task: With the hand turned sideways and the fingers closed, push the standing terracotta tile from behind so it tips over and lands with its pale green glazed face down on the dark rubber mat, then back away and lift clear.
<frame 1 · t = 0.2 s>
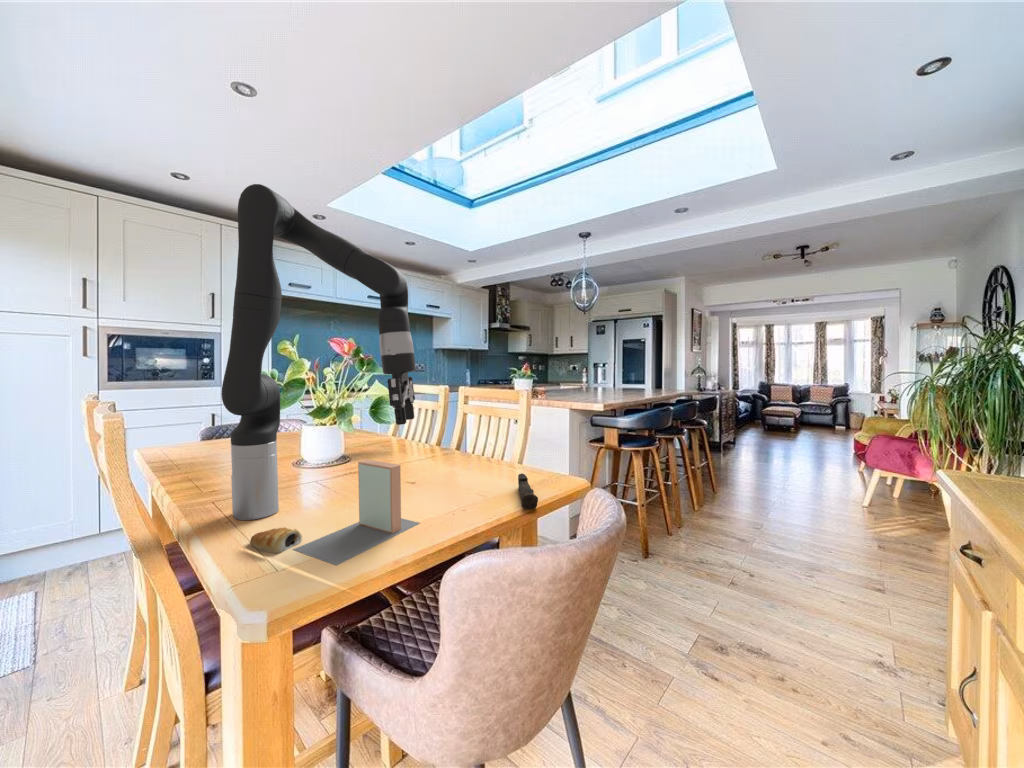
hand: (405, 421, 97), 22 cm above the table, tool pointing down, fingers open, 8 cm apart
tile: (379, 526, 90), resting on mat
pastry: (276, 548, 82), on the table
hand tool: (523, 498, 112), on the table
mat: (361, 537, 86), on the table
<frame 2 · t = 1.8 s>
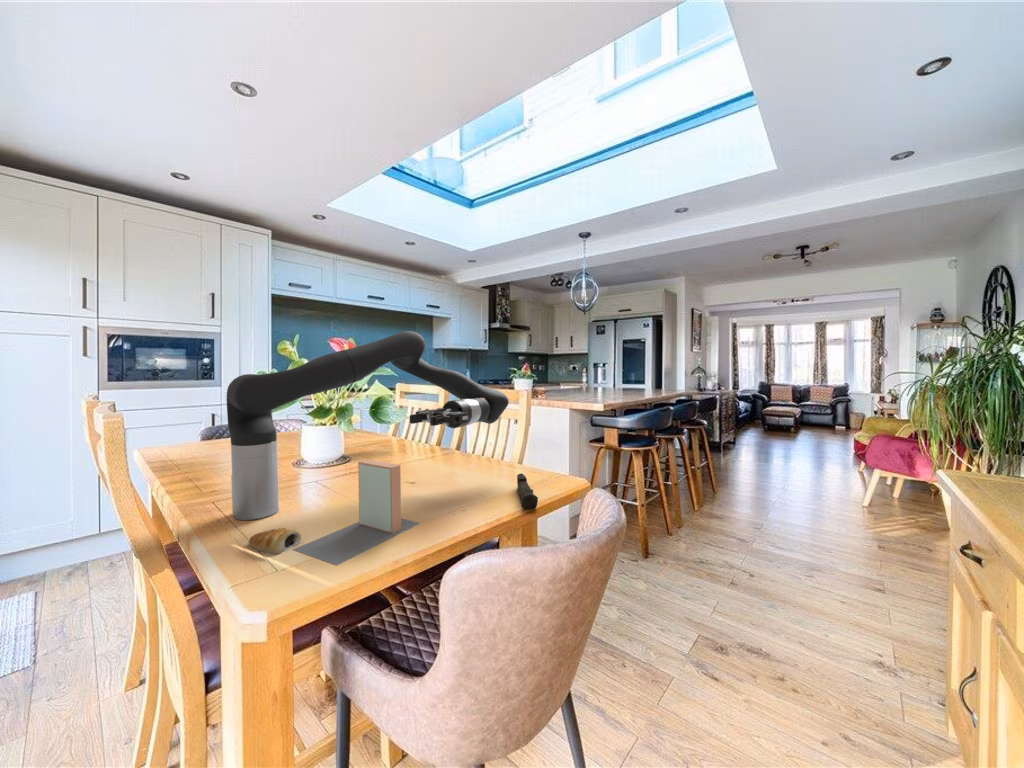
hand: (421, 420, 101), 22 cm above the table, tool horizontal, fingers open, 6 cm apart
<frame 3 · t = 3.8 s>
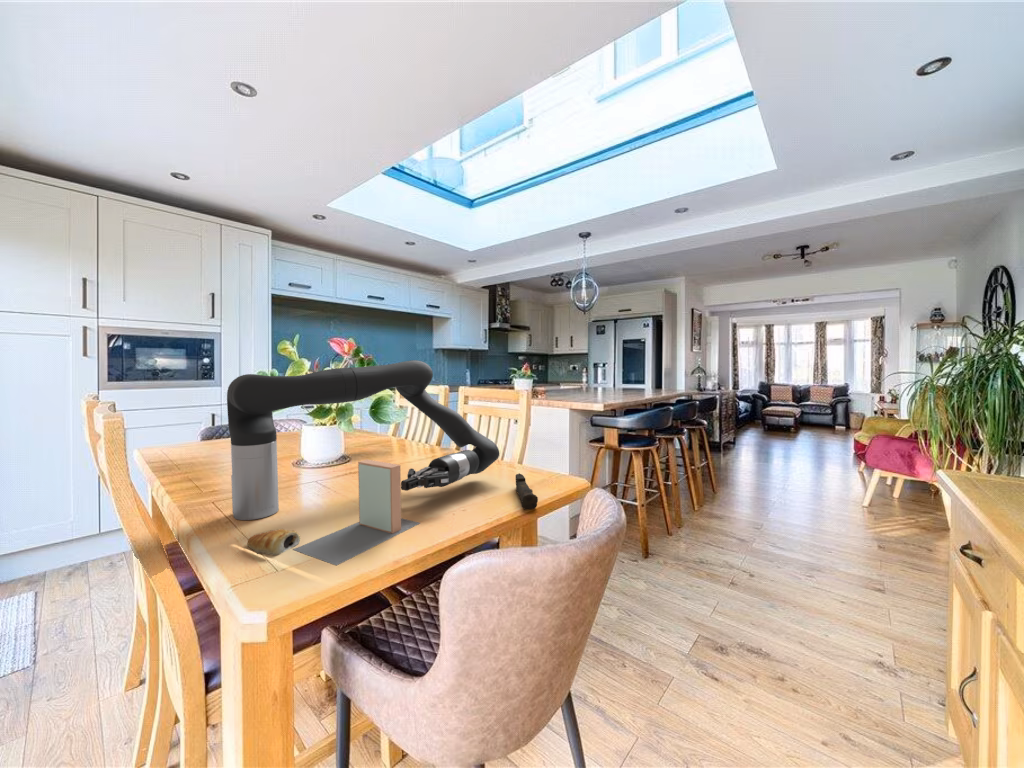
hand: (403, 486, 96), 7 cm above the table, tool horizontal, fingers closed
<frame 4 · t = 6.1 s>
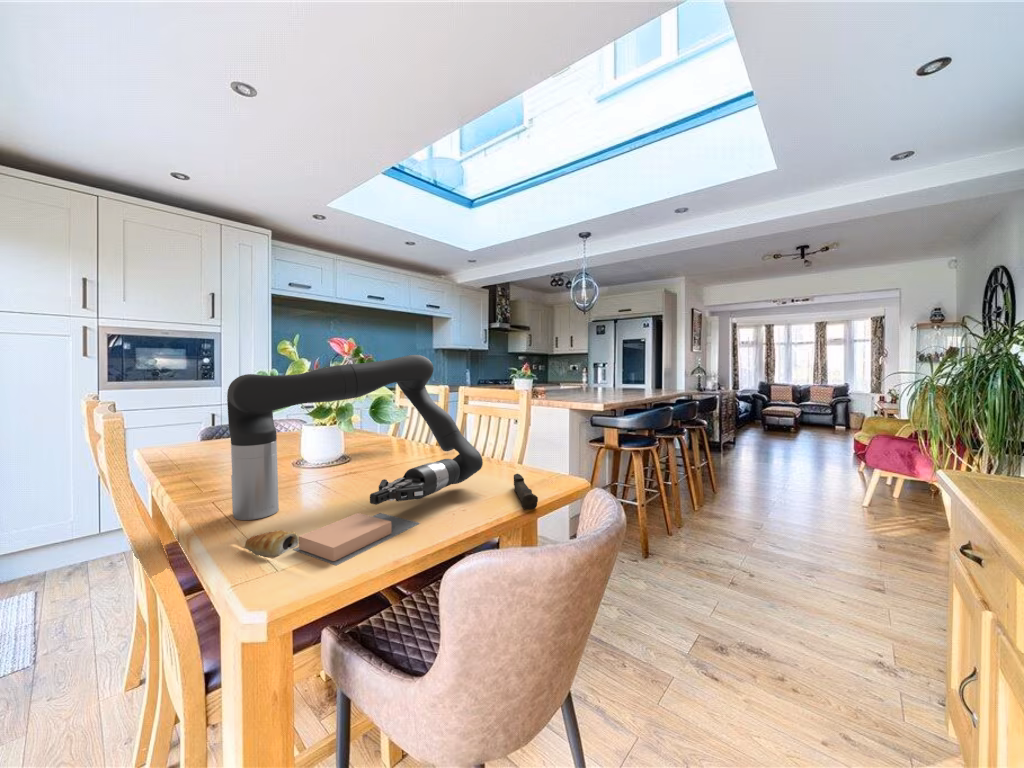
hand: (372, 499, 88), 7 cm above the table, tool horizontal, fingers closed
tile: (374, 522, 89), point 2 cm above the table, tilted 90°, touching mat
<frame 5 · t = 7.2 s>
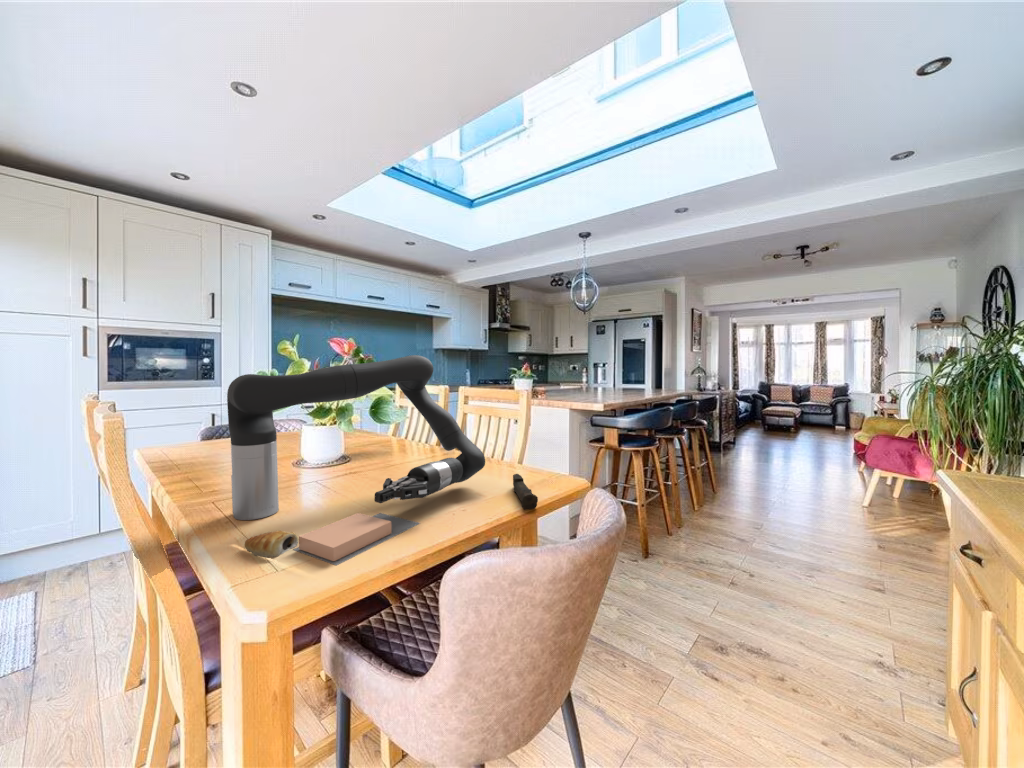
hand: (377, 498, 89), 7 cm above the table, tool horizontal, fingers closed
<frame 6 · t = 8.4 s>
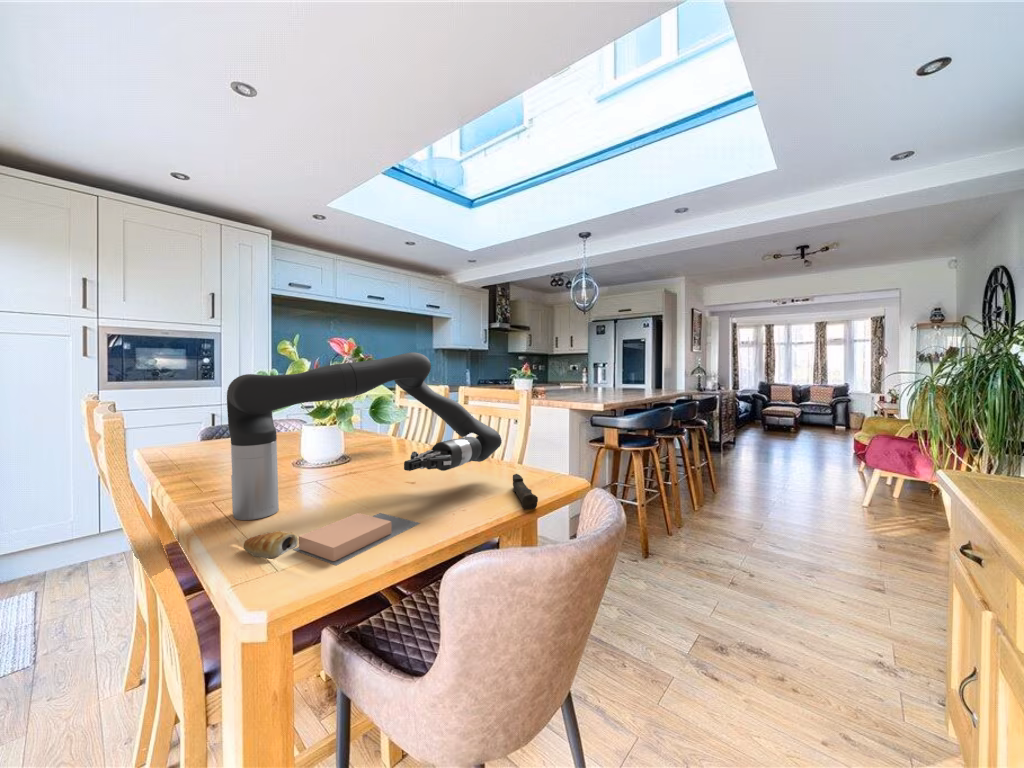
hand: (406, 466, 97), 12 cm above the table, tool horizontal, fingers closed
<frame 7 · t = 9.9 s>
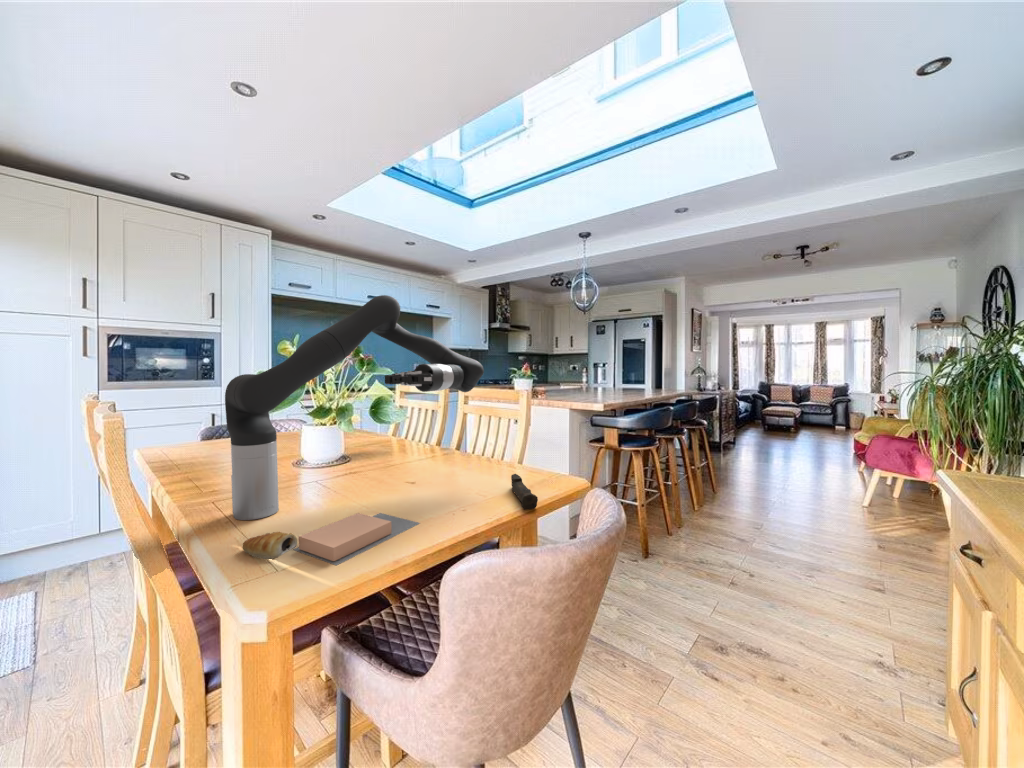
hand: (387, 379, 100), 32 cm above the table, tool horizontal, fingers closed
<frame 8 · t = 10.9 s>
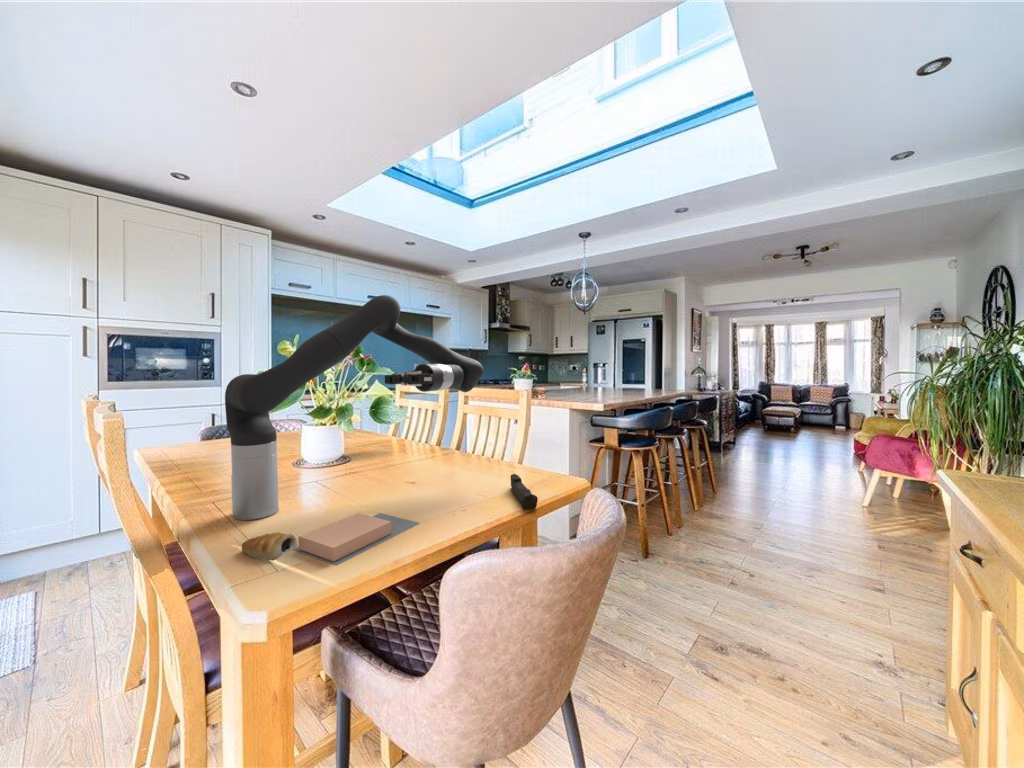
hand: (387, 379, 100), 32 cm above the table, tool horizontal, fingers closed
at the end: tile tilted 90°; tile inside the target area (4.4 cm from its centre), point 1.8 cm above the table; tile touching mat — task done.
